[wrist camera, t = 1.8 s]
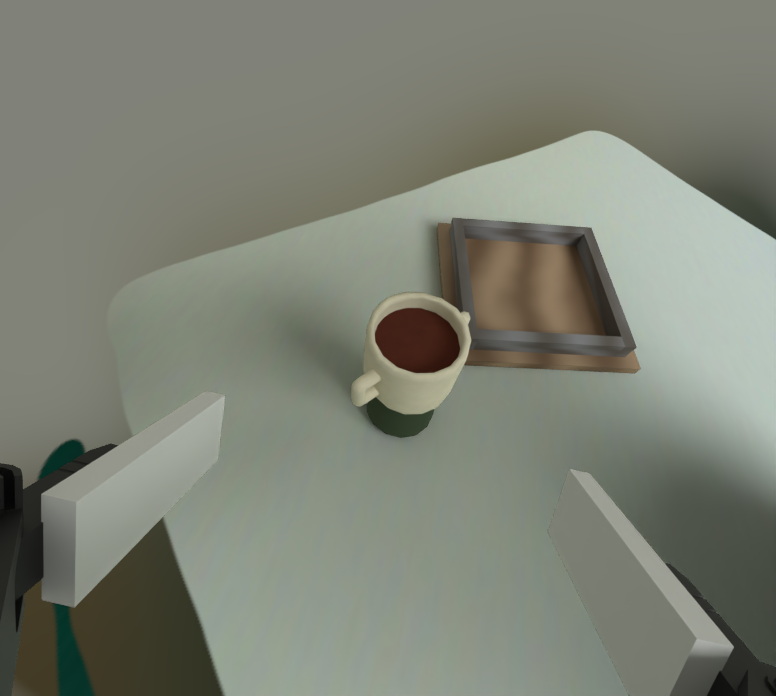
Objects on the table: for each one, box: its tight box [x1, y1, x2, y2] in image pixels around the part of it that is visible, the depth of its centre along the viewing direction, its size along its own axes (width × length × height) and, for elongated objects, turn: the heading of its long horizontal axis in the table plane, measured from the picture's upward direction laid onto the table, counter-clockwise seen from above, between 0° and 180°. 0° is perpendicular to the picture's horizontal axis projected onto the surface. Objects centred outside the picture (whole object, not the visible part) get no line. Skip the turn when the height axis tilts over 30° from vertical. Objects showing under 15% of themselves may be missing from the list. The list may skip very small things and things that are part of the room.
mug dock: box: [437, 218, 641, 373], centre depth 44 cm, size 20×20×3 cm
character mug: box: [351, 292, 471, 438], centre depth 31 cm, size 11×7×13 cm, turn 128°
